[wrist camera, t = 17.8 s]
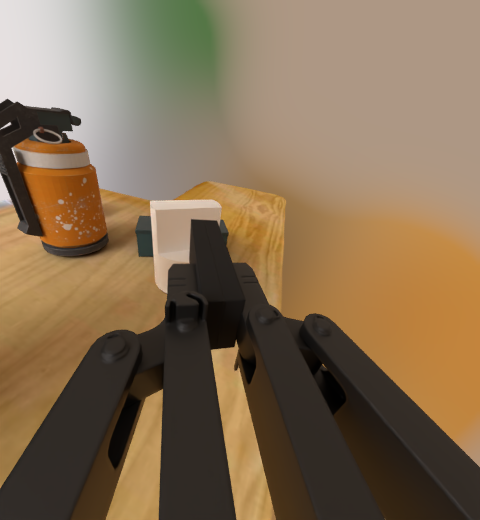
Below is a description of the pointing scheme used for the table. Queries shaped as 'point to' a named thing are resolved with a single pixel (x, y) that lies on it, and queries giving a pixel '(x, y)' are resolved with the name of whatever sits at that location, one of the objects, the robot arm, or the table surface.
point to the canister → (51, 180)
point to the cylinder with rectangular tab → (176, 232)
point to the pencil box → (145, 235)
